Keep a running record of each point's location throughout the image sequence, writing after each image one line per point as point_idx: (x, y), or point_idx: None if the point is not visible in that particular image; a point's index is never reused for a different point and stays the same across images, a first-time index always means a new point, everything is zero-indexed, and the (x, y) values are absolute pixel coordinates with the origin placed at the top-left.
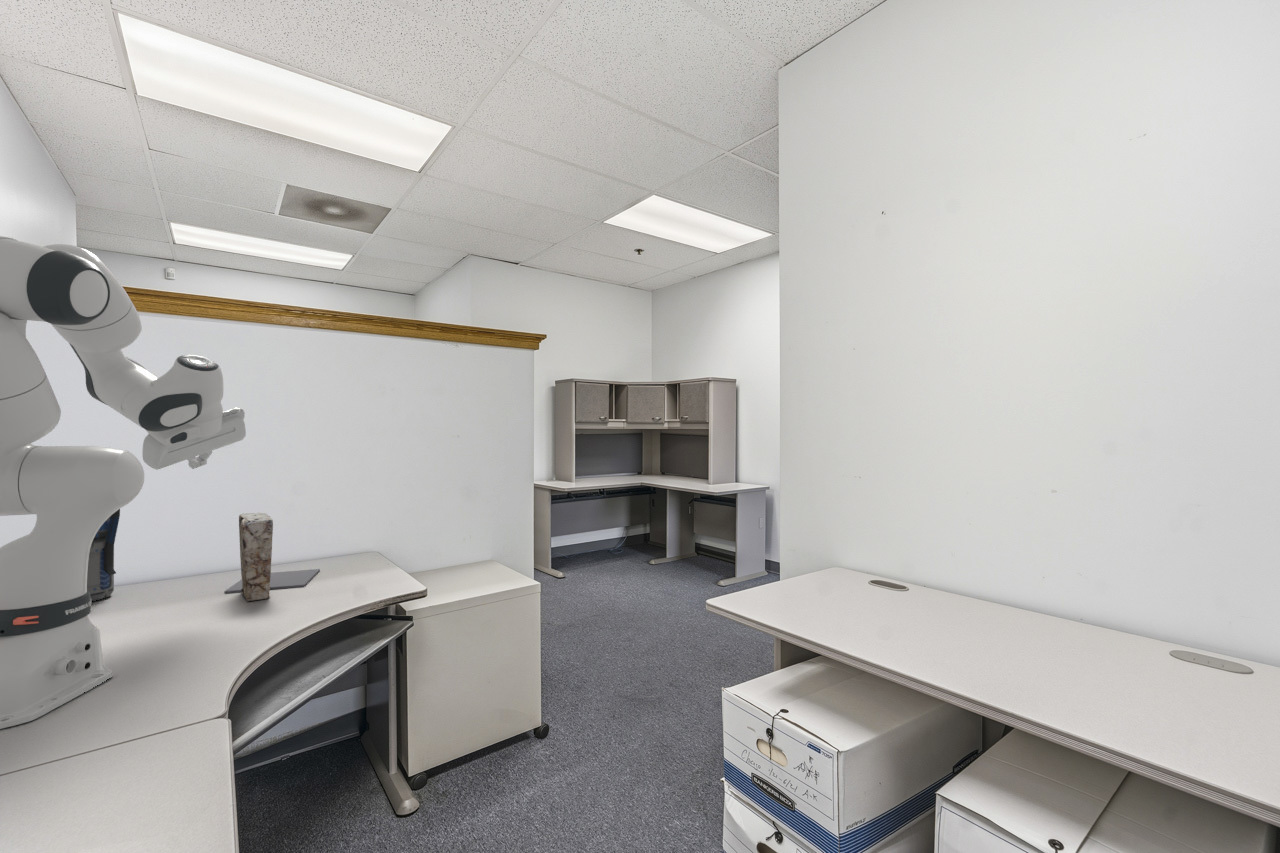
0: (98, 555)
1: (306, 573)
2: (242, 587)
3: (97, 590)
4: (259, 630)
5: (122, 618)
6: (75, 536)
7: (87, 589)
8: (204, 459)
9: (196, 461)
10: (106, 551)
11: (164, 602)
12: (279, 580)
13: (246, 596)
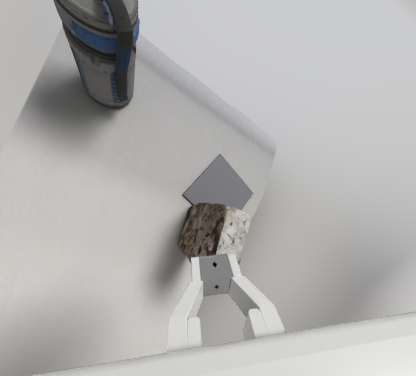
0: (108, 77)
1: (241, 198)
2: (192, 206)
3: (111, 103)
4: (136, 352)
5: (94, 197)
6: None
7: (101, 99)
8: (231, 297)
9: (207, 291)
10: (116, 79)
11: (142, 174)
12: (221, 201)
13: (178, 244)
